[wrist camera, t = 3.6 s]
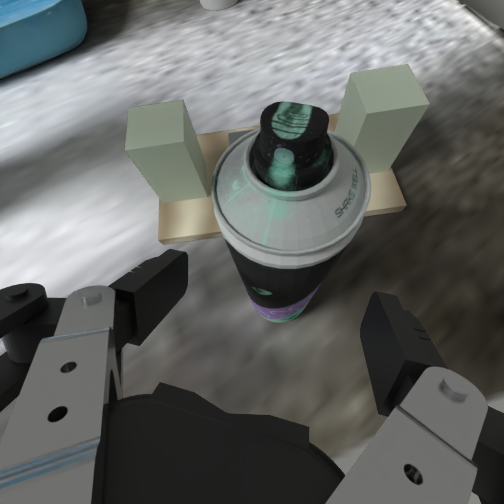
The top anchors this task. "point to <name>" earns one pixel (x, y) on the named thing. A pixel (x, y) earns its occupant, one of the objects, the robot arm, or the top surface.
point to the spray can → (289, 205)
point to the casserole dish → (38, 31)
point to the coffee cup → (217, 4)
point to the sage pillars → (348, 127)
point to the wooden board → (202, 209)
